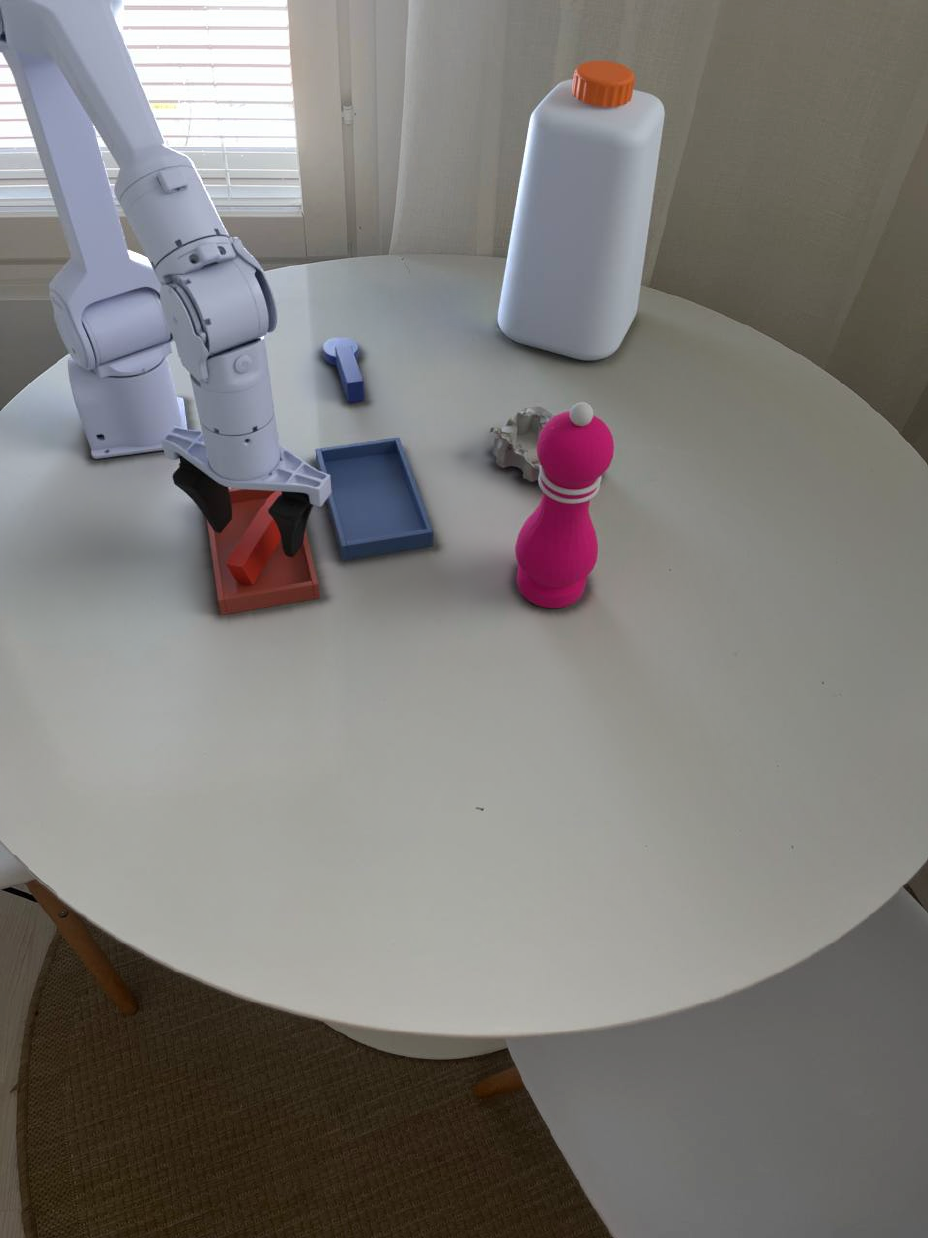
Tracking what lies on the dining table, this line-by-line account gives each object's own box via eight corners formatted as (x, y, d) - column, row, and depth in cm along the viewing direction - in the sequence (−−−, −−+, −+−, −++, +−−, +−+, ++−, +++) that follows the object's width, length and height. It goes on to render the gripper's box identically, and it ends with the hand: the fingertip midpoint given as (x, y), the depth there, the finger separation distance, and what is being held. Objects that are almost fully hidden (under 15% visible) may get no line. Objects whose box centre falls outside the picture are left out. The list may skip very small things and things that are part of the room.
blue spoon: (374, 399, 99) (373, 379, 97) (338, 404, 98) (336, 384, 96) (355, 343, 106) (354, 324, 104) (320, 347, 105) (319, 327, 103)
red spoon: (263, 587, 80) (253, 569, 78) (225, 579, 81) (214, 561, 79) (316, 499, 85) (308, 479, 83) (280, 492, 87) (271, 473, 84)
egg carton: (482, 458, 94) (484, 426, 91) (525, 425, 98) (529, 393, 95) (565, 506, 90) (571, 474, 87) (607, 469, 94) (614, 437, 91)
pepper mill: (584, 620, 80) (627, 442, 65) (504, 605, 81) (528, 426, 66) (593, 562, 85) (635, 384, 70) (517, 548, 86) (542, 368, 70)
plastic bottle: (642, 308, 114) (697, 60, 92) (608, 373, 104) (660, 114, 83) (529, 278, 117) (557, 32, 95) (486, 339, 108) (506, 81, 86)
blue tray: (342, 561, 84) (341, 546, 82) (316, 463, 92) (315, 448, 91) (433, 546, 85) (433, 531, 84) (399, 451, 94) (399, 436, 92)
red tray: (221, 615, 79) (218, 600, 77) (205, 506, 87) (202, 491, 86) (320, 598, 81) (318, 583, 79) (295, 493, 89) (293, 478, 88)
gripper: (344, 408, 71) (352, 531, 81) (184, 361, 74) (211, 486, 84) (301, 462, 67) (315, 585, 77) (133, 409, 70) (168, 535, 80)
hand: (258, 537), depth 80 cm, fingers open, 7 cm apart
